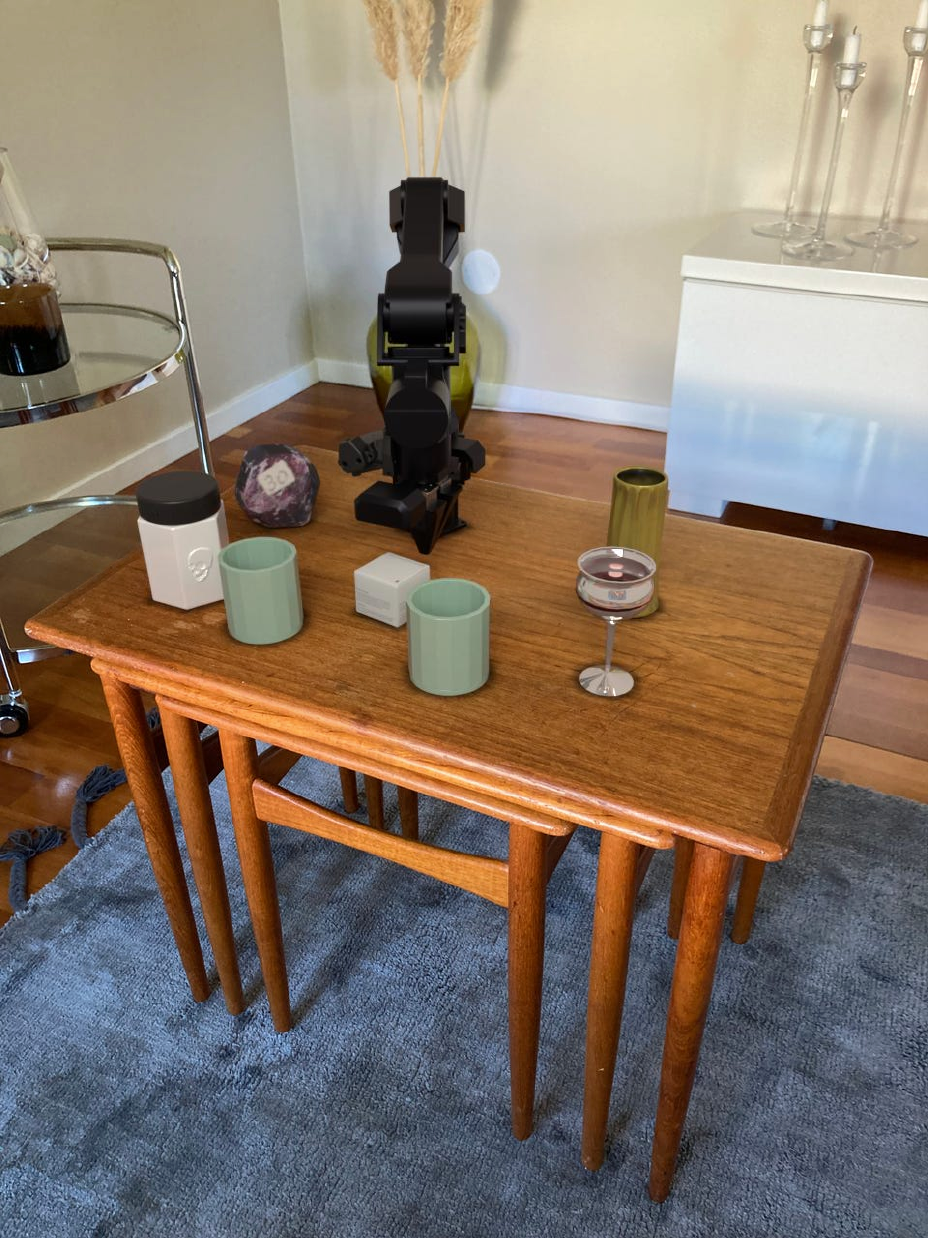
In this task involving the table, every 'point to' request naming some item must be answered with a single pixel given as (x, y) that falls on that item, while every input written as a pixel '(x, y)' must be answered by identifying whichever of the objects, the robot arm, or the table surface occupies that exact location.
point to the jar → (182, 537)
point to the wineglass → (613, 605)
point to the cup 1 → (261, 589)
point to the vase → (639, 516)
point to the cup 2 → (448, 636)
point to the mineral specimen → (277, 486)
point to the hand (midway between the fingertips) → (425, 553)
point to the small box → (387, 587)
